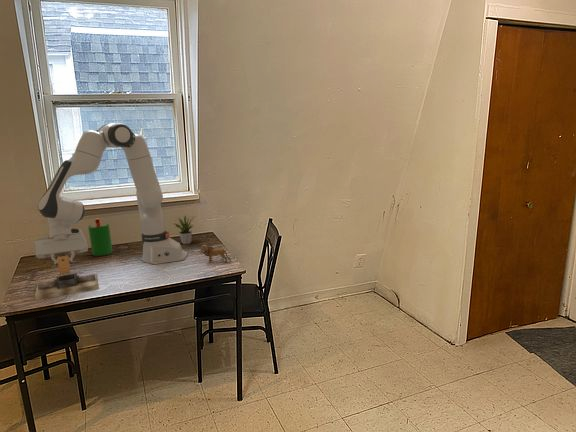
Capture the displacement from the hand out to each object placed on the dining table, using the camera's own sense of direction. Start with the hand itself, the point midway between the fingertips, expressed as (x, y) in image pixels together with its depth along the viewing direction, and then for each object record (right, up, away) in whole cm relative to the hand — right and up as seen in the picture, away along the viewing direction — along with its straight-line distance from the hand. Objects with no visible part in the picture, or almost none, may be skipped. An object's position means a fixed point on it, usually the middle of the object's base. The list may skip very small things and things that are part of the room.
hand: (63, 263), depth 182 cm
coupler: (0, -4, +2) cm, 5 cm away
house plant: (+38, +5, +65) cm, 75 cm away
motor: (-5, 0, +49) cm, 49 cm away
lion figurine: (+60, -3, +31) cm, 67 cm away
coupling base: (0, -11, +4) cm, 12 cm away
